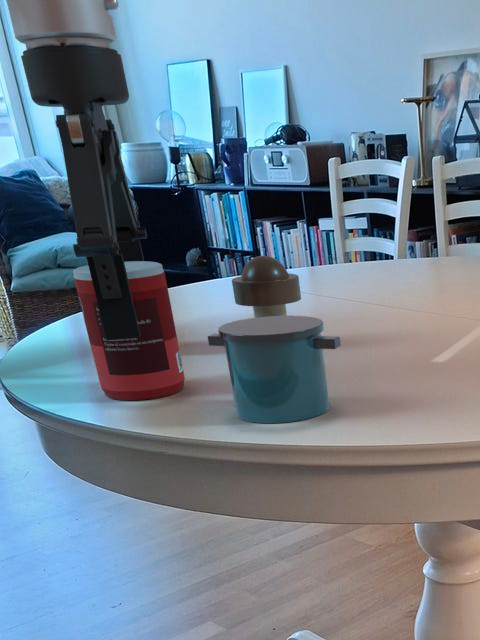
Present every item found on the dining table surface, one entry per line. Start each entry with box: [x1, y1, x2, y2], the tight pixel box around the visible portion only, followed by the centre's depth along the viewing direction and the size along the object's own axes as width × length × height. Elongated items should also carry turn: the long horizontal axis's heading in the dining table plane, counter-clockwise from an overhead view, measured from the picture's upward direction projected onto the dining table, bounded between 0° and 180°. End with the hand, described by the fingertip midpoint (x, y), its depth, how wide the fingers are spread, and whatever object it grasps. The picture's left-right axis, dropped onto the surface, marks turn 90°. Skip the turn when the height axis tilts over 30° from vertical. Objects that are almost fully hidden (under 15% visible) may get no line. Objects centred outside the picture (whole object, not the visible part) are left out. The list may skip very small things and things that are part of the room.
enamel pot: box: [207, 315, 342, 424], centre depth 74 cm, size 9×12×7 cm
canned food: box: [72, 260, 186, 401], centre depth 81 cm, size 8×8×11 cm
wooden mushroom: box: [231, 255, 302, 318], centre depth 97 cm, size 7×7×10 cm
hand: (133, 325), depth 80 cm, fingers open, 13 cm apart
